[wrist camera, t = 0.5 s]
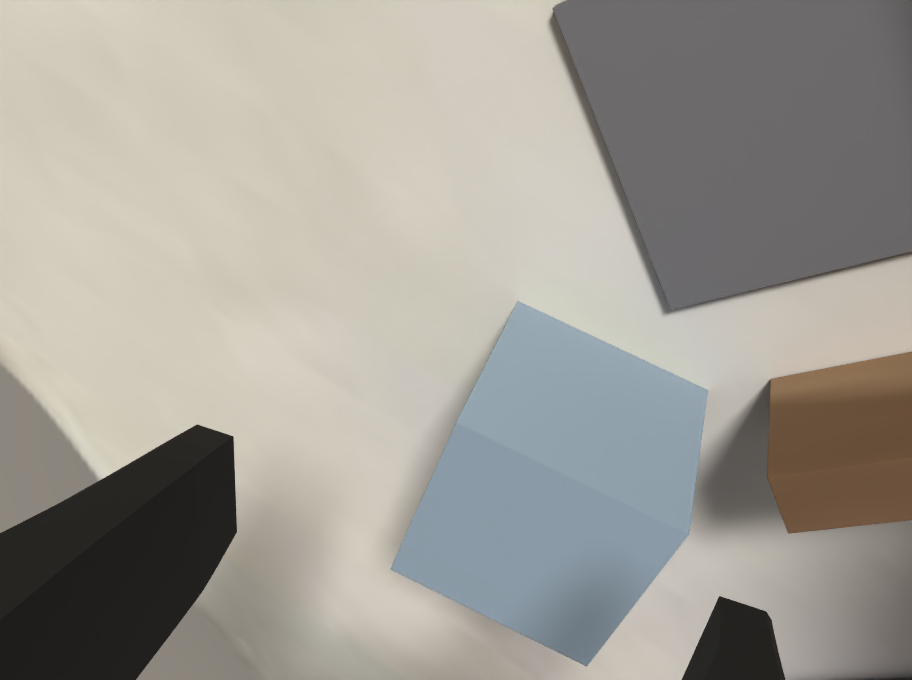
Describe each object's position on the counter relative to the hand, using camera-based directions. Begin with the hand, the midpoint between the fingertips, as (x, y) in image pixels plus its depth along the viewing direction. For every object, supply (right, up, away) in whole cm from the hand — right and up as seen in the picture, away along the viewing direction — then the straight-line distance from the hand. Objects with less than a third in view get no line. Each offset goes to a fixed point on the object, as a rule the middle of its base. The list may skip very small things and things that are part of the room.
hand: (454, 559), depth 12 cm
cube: (+3, +1, +10) cm, 11 cm away
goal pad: (+7, +8, +4) cm, 11 cm away
